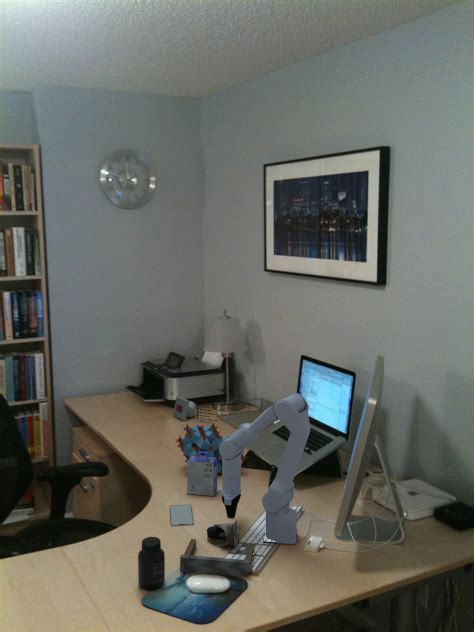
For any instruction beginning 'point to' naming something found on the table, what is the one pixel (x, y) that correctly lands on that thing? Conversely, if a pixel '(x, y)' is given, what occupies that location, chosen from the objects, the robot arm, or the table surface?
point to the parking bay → (215, 563)
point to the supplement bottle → (151, 565)
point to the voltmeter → (188, 409)
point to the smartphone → (181, 515)
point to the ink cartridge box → (202, 475)
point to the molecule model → (203, 443)
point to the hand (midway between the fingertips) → (231, 517)
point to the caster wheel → (224, 534)
